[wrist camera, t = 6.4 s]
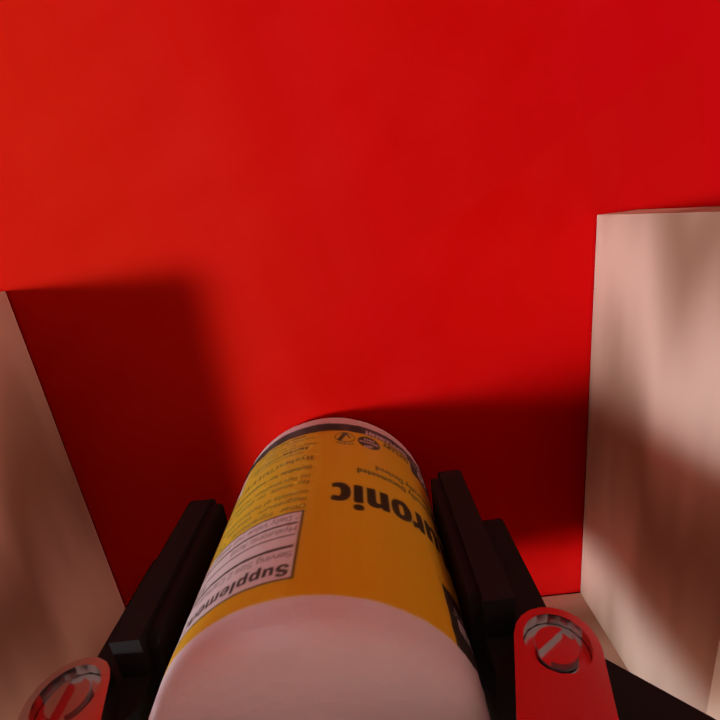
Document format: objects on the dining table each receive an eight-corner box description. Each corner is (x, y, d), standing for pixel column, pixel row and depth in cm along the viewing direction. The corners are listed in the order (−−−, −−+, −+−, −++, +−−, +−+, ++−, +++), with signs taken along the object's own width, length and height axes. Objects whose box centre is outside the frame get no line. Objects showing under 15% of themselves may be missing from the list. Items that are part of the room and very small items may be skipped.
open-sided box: (-34, 295, 11) (-330, 353, 6) (638, 209, 11) (871, 200, 6) (117, 666, 15) (8, 874, 10) (609, 612, 15) (733, 801, 10)
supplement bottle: (458, 505, 13) (696, 1149, 4) (320, 588, 14) (262, 1269, 5) (355, 374, 12) (364, 899, 3) (210, 475, 13) (-155, 1126, 4)
